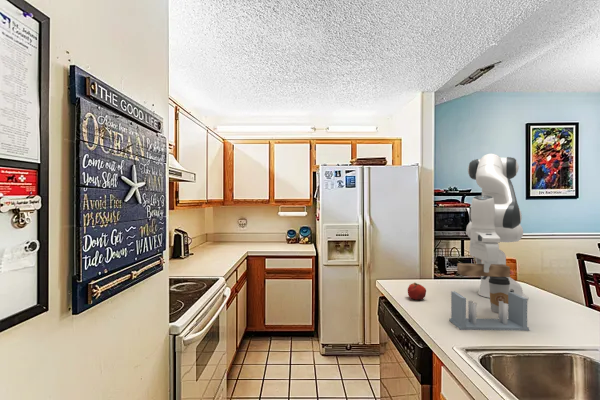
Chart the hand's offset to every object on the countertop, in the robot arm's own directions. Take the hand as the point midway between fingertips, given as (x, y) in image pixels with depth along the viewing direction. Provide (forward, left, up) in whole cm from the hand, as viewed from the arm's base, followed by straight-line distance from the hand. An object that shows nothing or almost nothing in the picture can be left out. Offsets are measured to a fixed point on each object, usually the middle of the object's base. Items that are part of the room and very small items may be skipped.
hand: (482, 270), depth 140 cm
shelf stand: (-1, +2, -21) cm, 21 cm away
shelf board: (0, 0, -2) cm, 2 cm away
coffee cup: (-15, -16, -22) cm, 31 cm away
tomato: (+16, -34, -22) cm, 43 cm away
